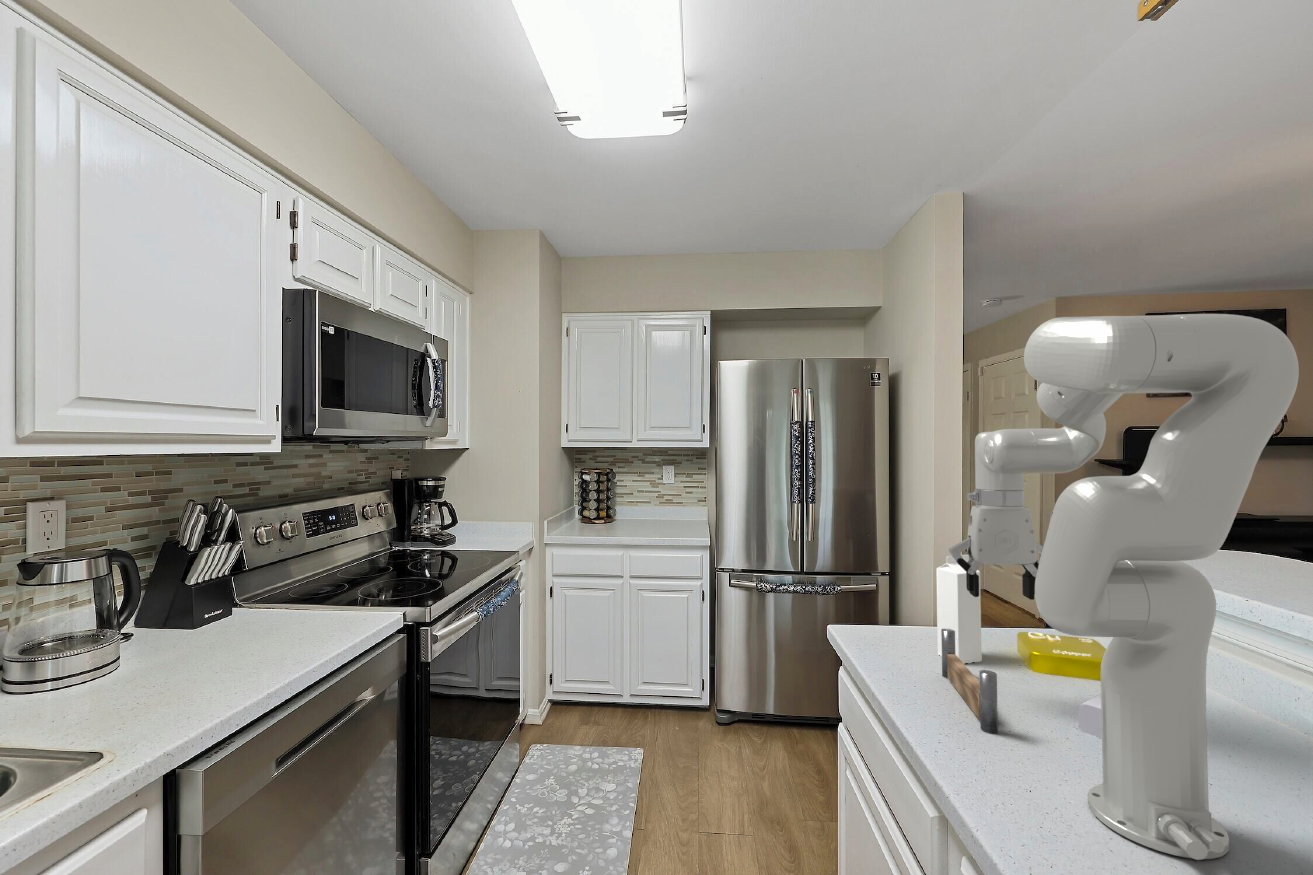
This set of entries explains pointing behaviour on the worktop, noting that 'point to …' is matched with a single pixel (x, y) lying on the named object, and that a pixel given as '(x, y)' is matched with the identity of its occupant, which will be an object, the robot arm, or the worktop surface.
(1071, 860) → the worktop surface
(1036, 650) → the element tile
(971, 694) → the gate
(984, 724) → the hinge post
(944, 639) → the latch post
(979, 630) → the milk
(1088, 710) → the charger
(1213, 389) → the robot arm
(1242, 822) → the worktop surface
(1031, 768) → the worktop surface
